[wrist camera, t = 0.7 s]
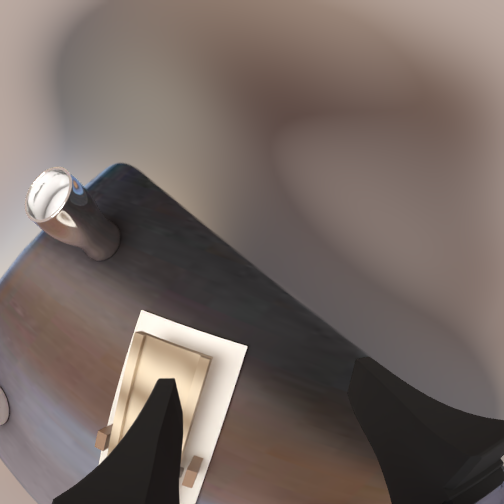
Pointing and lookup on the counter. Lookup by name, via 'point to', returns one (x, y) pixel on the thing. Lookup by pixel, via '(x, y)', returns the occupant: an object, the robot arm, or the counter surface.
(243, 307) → the counter surface
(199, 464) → the beam stand
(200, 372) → the balance beam
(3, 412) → the milk bottle
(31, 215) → the beer glass
